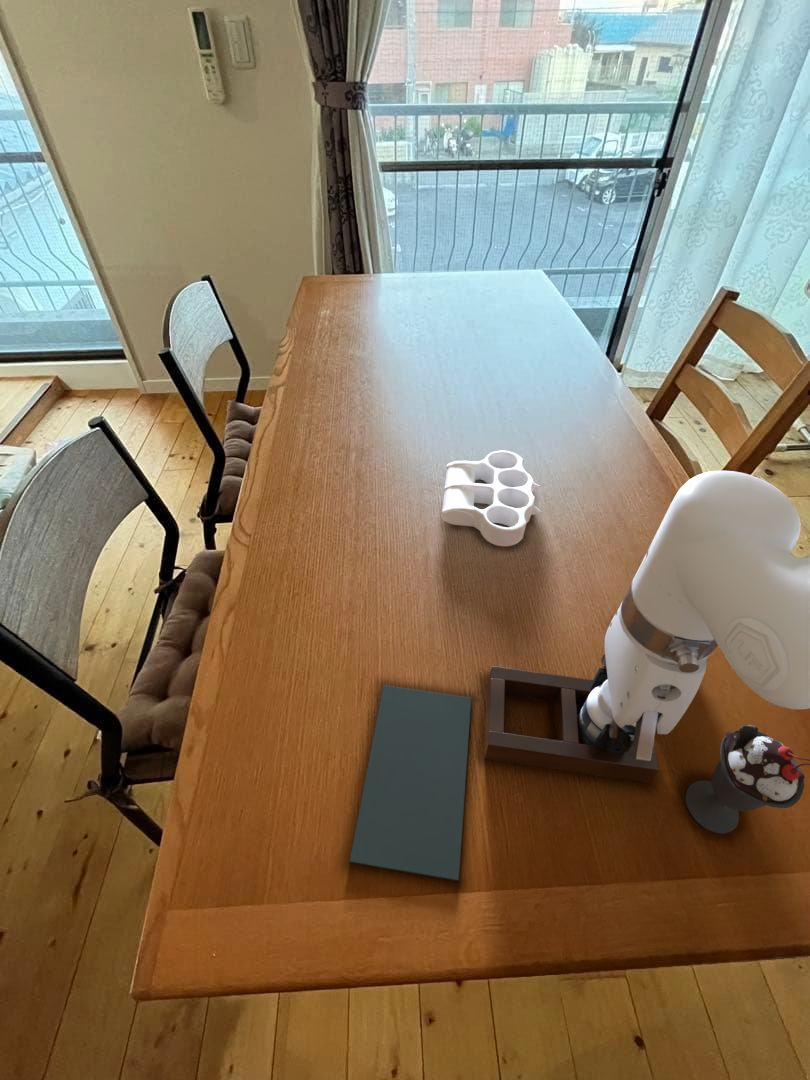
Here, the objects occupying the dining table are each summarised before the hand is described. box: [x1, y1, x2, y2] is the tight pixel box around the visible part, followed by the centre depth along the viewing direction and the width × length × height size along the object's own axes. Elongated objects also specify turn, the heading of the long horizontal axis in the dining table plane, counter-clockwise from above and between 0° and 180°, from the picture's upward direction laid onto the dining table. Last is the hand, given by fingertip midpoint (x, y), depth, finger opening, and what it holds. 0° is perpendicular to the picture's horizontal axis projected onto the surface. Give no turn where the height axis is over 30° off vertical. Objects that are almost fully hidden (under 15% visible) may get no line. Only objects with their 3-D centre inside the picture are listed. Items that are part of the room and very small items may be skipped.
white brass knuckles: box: [441, 450, 543, 547], centre depth 83 cm, size 3×18×15 cm
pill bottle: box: [577, 679, 636, 746], centre depth 56 cm, size 5×5×9 cm
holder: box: [483, 665, 659, 784], centre depth 59 cm, size 9×16×4 cm, turn 82°
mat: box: [349, 684, 472, 882], centre depth 56 cm, size 18×10×1 cm, turn 172°
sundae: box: [685, 724, 810, 834], centre depth 49 cm, size 7×7×15 cm
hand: (608, 717), depth 57 cm, fingers closed on pill bottle, 5 cm apart
